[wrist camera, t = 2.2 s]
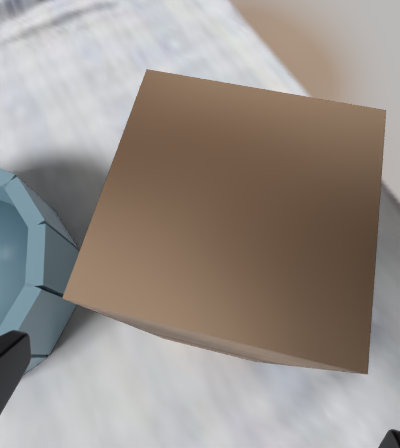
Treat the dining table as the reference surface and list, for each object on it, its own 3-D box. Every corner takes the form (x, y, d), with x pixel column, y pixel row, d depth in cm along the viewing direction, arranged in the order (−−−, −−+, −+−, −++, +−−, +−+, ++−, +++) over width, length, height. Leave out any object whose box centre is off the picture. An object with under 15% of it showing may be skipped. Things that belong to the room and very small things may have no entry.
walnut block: (255, 361, 19) (367, 374, 5) (163, 338, 19) (62, 298, 6) (271, 270, 20) (386, 110, 7) (186, 251, 21) (146, 69, 8)
